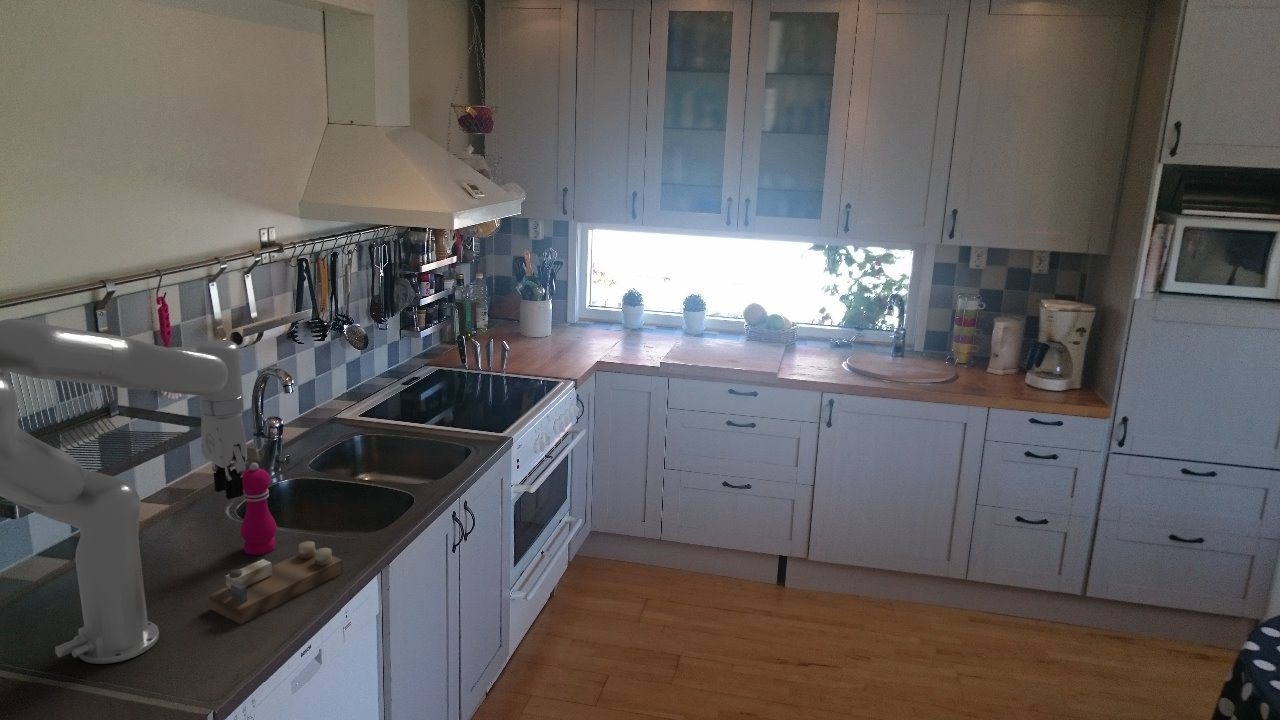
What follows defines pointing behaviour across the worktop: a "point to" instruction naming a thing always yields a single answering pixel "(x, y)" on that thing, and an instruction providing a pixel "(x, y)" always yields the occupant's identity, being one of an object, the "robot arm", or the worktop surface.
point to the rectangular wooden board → (278, 584)
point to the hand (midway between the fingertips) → (229, 492)
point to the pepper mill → (257, 513)
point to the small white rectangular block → (249, 573)
